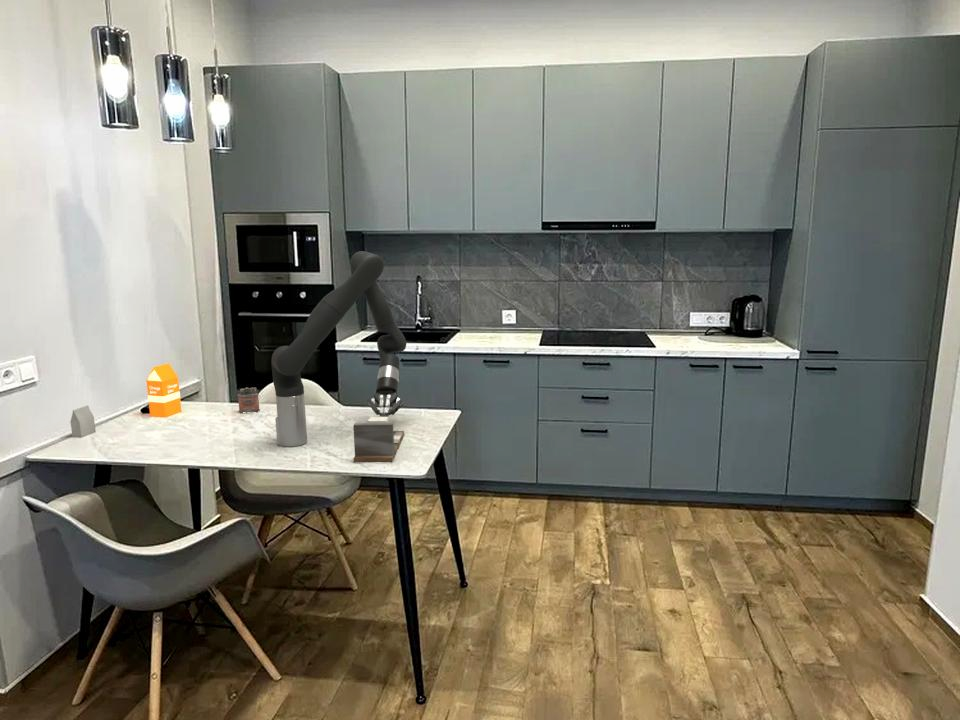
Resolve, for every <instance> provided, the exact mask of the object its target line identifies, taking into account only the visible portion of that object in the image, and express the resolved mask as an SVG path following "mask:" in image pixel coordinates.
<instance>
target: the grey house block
mask: <svg viewBox="0 0 960 720" xmlns="http://www.w3.org/2000/svg"><path fill="white" fill-rule="evenodd" d="M69 422H70V430H71V435H72V438H77V439H78V438H80V439H81V438H84V437H86V436H89V435H92V434H95V433H96V425H95V424H96V423H95V416H94V414H93V413H92V411H91V409H90V407H89V405H84V406H81V407H79V408H77V409H73V410H72V414H71V417H70V421H69Z"/></svg>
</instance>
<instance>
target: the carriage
mask: <svg viewBox="0 0 960 720" xmlns="http://www.w3.org/2000/svg"><path fill="white" fill-rule="evenodd" d="M389 419H390V417H380V416H370V417H369V419H368V420H367V422H390V420H389ZM394 444H398V443H394Z"/></svg>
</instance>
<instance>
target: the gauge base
mask: <svg viewBox="0 0 960 720" xmlns="http://www.w3.org/2000/svg"><path fill="white" fill-rule="evenodd" d="M352 428H353V446H354V448H353V449H354V457H353V463H354V462H390V463H393V461H394V460H393V459H395V457H396V454H397V452H398V451H397V450H399V449H400V446H401V444H402V442H401V441H403V439H404V437H405V430H394V422H392V421H389V422H368V421H366V422H365V421H363V422H362V421H361V422H354V423H353V427H352ZM394 443H398V444H394Z"/></svg>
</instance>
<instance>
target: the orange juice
mask: <svg viewBox="0 0 960 720" xmlns="http://www.w3.org/2000/svg"><path fill="white" fill-rule="evenodd" d="M179 383H180V382H179V376H178V375H177V373H176V372H175V371H174V368H173V367H172V366H171V364H170V363H163V364H160V365H156V366H152V369H151V371H150V373H149V375H148V376H147V379H146V389H147V391H146V392H147V400H148V409H149V416H150V417H155V418H168V417H171V416H174V415H177V414H179V413H182V404H181V403H182V402H181V401H182V400H181V392H180V384H179Z"/></svg>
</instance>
